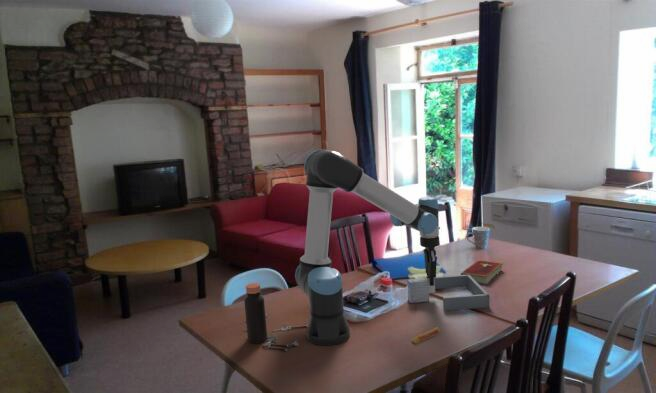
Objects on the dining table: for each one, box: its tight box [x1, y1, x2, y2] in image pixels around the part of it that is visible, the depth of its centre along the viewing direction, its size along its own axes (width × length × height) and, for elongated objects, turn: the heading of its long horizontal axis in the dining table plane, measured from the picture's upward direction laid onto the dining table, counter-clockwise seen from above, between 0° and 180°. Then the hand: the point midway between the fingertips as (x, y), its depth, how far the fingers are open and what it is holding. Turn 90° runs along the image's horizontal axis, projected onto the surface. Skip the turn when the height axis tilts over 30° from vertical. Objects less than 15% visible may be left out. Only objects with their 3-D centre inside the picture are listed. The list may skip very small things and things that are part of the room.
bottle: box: [243, 282, 268, 344], centre depth 173 cm, size 7×7×20 cm
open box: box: [435, 274, 490, 311], centre depth 202 cm, size 24×18×5 cm
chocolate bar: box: [411, 326, 441, 344], centre depth 169 cm, size 3×12×2 cm, turn 127°
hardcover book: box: [460, 259, 504, 285], centre depth 226 cm, size 12×21×4 cm, turn 143°
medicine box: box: [406, 277, 430, 304], centre depth 200 cm, size 8×4×9 cm, turn 95°
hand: (431, 292), depth 201 cm, fingers closed
